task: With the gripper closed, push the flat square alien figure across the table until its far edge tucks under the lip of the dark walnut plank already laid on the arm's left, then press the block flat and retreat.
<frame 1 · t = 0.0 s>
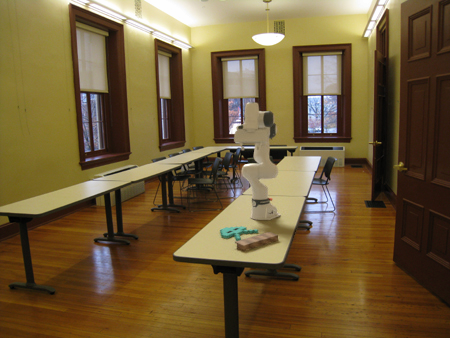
hand: (250, 150, 218), 52 cm above the table, tool tilted 20°, fingers open, 8 cm apart
laid plank: (258, 244, 207), on the table
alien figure: (235, 234, 226), on the table
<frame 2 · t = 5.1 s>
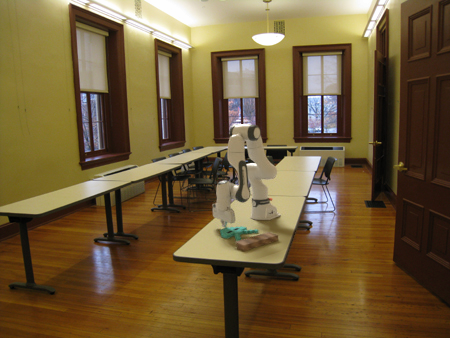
hand: (224, 226, 235), 2 cm above the table, tool pointing down, fingers closed
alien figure: (235, 234, 226), on the table, touching gripper
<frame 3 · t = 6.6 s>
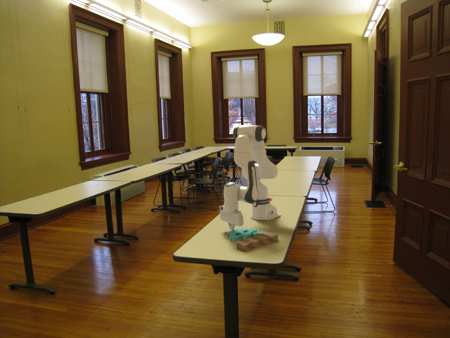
hand: (231, 229, 229), 2 cm above the table, tool pointing down, fingers closed
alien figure: (244, 237, 220), on the table, touching gripper
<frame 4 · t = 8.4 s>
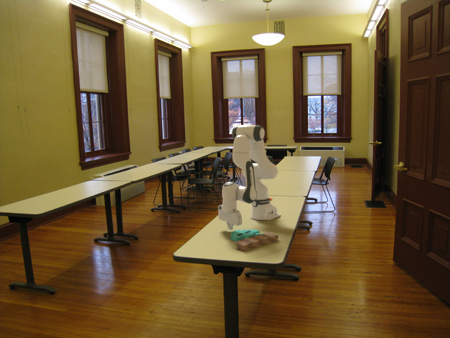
hand: (230, 229, 231), 2 cm above the table, tool pointing down, fingers closed
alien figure: (246, 237, 220), on the table
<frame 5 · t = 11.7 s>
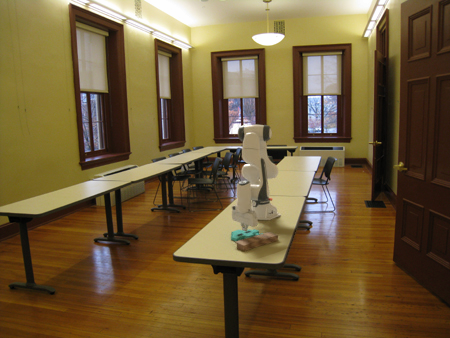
hand: (244, 230, 218), 4 cm above the table, tool pointing down, fingers closed
nothing on the table moved.
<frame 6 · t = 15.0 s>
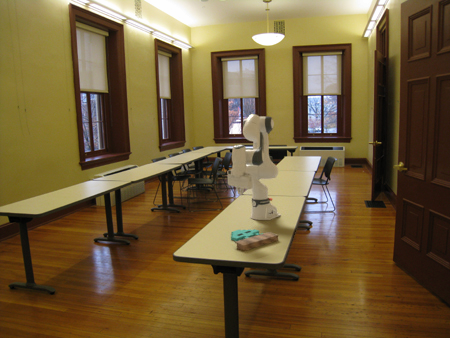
hand: (240, 194, 221), 25 cm above the table, tool pointing down, fingers closed
nothing on the table moved.
at the end: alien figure inside the target area (1.7 cm from its centre), on the table; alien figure tilted 0° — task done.
